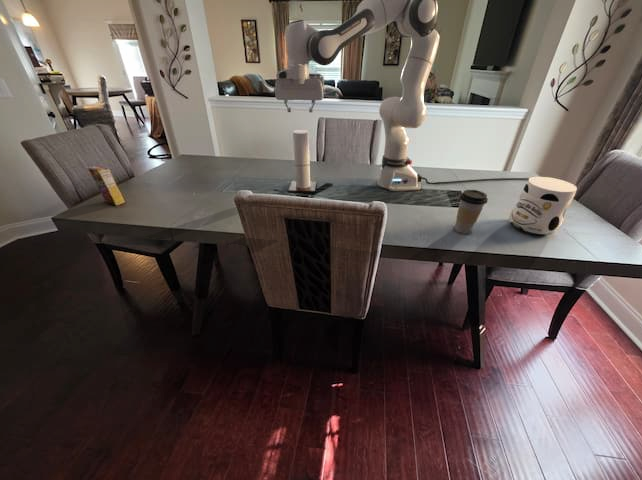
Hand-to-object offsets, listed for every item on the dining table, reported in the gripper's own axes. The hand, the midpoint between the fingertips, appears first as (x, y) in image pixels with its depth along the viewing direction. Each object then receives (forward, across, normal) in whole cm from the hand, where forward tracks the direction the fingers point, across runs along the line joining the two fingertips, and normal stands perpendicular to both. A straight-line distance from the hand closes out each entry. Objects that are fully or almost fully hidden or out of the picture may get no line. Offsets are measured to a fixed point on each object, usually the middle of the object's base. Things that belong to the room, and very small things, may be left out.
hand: (300, 112), depth 122 cm
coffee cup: (+34, -67, +39) cm, 85 cm away
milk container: (+35, -95, +35) cm, 107 cm away
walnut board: (+34, 0, 0) cm, 34 cm away
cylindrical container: (+33, 0, 0) cm, 33 cm away
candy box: (+34, +83, +24) cm, 93 cm away
